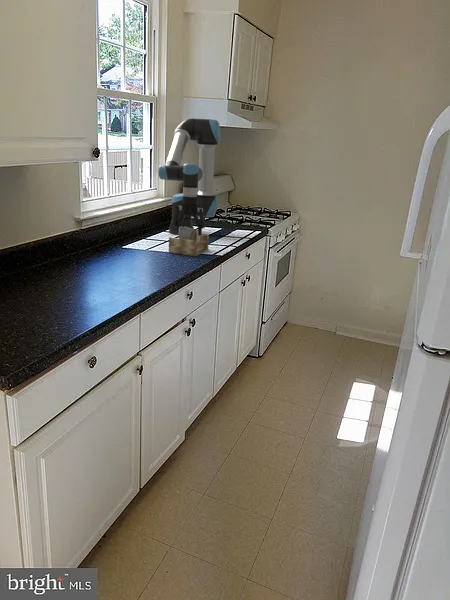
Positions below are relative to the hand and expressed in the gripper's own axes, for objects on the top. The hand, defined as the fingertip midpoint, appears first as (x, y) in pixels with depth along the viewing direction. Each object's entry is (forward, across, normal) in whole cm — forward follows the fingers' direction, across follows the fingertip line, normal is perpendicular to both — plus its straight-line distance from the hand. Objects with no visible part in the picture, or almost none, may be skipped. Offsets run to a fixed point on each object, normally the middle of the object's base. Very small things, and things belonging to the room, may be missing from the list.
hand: (189, 240), depth 248 cm
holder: (+5, 0, 0) cm, 5 cm away
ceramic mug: (+1, 0, +2) cm, 2 cm away
